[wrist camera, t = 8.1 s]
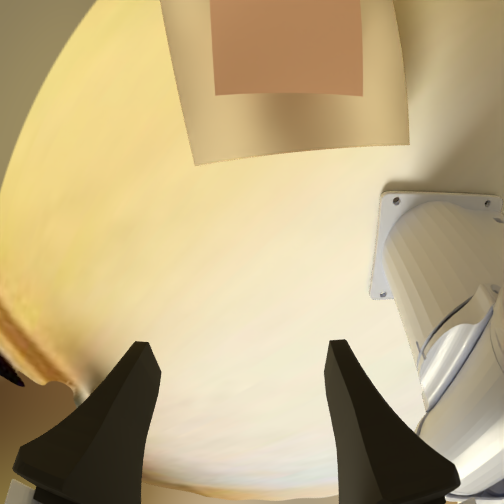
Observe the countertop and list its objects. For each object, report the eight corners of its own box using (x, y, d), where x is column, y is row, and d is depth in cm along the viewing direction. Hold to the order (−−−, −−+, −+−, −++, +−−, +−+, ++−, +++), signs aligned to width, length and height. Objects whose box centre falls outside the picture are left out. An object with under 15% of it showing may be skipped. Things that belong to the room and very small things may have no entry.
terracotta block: (332, 4, 9) (356, -32, 5) (335, 89, 11) (363, 96, 7) (236, 5, 10) (208, -31, 6) (240, 89, 12) (215, 95, 8)
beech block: (359, -30, 10) (377, -54, 7) (385, 130, 16) (409, 145, 12) (182, -8, 12) (155, -26, 9) (214, 147, 17) (195, 166, 14)
